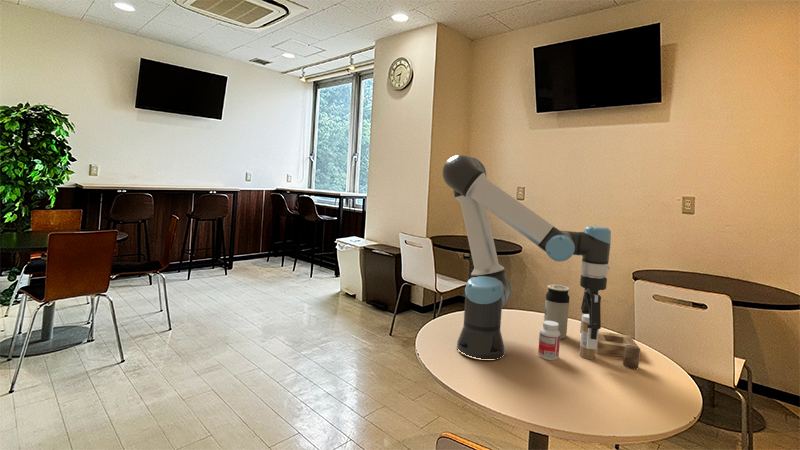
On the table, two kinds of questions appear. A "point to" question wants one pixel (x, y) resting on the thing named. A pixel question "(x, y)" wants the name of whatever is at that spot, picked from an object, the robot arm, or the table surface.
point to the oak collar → (613, 343)
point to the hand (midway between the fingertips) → (588, 340)
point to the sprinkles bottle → (585, 339)
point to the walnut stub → (631, 356)
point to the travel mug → (557, 307)
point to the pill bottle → (549, 340)
